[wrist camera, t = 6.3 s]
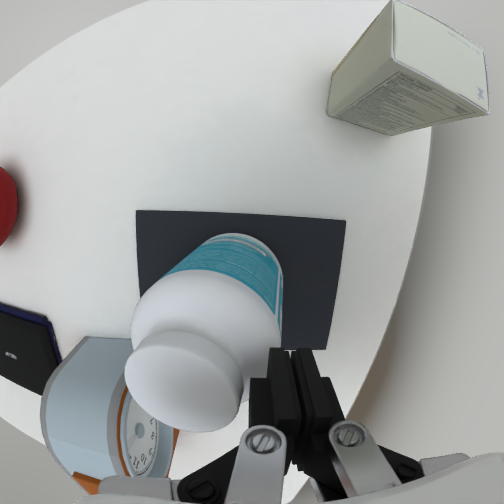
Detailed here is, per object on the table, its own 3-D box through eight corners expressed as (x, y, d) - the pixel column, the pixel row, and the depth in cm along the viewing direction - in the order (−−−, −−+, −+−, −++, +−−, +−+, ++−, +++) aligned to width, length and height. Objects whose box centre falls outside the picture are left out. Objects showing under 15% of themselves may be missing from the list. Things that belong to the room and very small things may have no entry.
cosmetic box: (395, 94, 19) (487, 50, 7) (391, 139, 20) (493, 118, 8) (329, 70, 19) (392, -8, 7) (322, 117, 20) (393, 59, 8)
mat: (345, 220, 22) (346, 221, 21) (325, 348, 25) (325, 349, 24) (137, 210, 21) (135, 210, 21) (146, 337, 24) (145, 339, 24)
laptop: (-29, 274, 23) (-38, 278, 21) (63, 322, 24) (54, 330, 22) (-9, 361, 27) (-16, 366, 25) (80, 413, 28) (74, 422, 26)
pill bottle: (176, 253, 22) (65, 333, 9) (259, 215, 21) (215, 272, 8) (217, 330, 24) (159, 453, 11) (297, 301, 22) (305, 436, 9)
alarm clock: (185, 435, 28) (166, 525, 15) (125, 428, 28) (93, 506, 15) (153, 339, 24) (96, 448, 11) (83, 336, 25) (13, 417, 11)
